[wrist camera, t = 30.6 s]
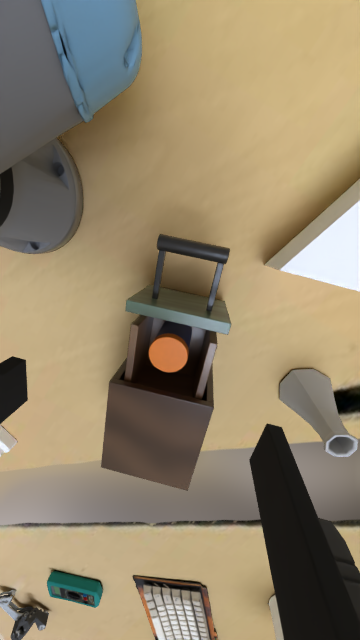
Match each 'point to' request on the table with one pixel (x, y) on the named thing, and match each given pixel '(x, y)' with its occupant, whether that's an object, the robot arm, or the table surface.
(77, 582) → the digital multimeter
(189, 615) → the mechanical keyboard
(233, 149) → the table surface
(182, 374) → the drawer
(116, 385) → the cabinet
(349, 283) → the triangle block
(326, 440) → the flask
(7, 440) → the cable organizer
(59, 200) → the robot arm
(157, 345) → the glue stick
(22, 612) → the bicycle component
